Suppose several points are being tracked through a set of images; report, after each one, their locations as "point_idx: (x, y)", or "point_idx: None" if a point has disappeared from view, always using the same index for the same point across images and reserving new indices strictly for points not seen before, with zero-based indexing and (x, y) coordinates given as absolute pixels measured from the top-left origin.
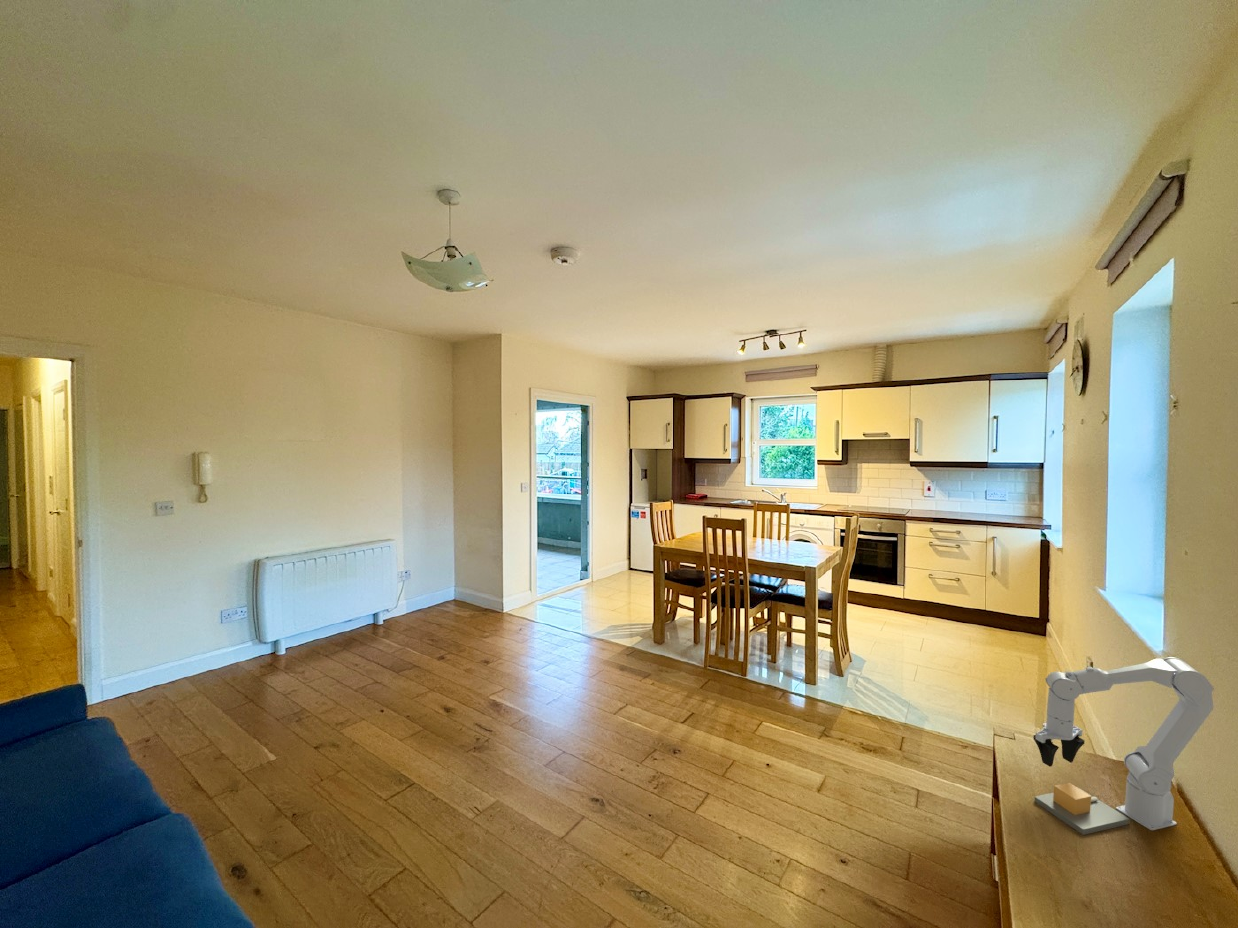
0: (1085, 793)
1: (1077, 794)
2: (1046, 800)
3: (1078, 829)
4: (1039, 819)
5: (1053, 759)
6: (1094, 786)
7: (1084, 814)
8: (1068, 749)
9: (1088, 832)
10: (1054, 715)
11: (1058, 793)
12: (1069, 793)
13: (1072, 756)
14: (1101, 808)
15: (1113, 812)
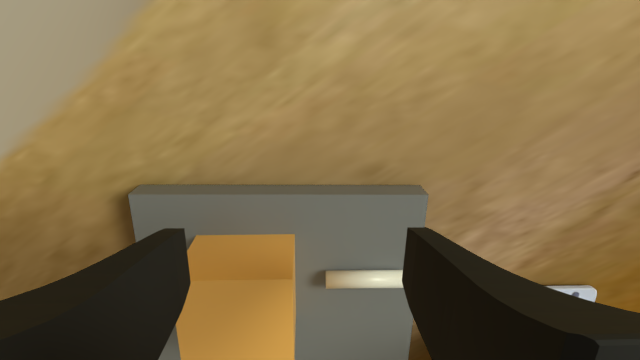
0: (288, 352)
1: (234, 350)
2: (163, 227)
3: None
4: (66, 264)
5: (159, 350)
6: (550, 168)
7: None
8: (446, 329)
9: None
10: None
11: None
12: (196, 340)
13: (420, 330)
14: (365, 310)
15: (387, 334)
